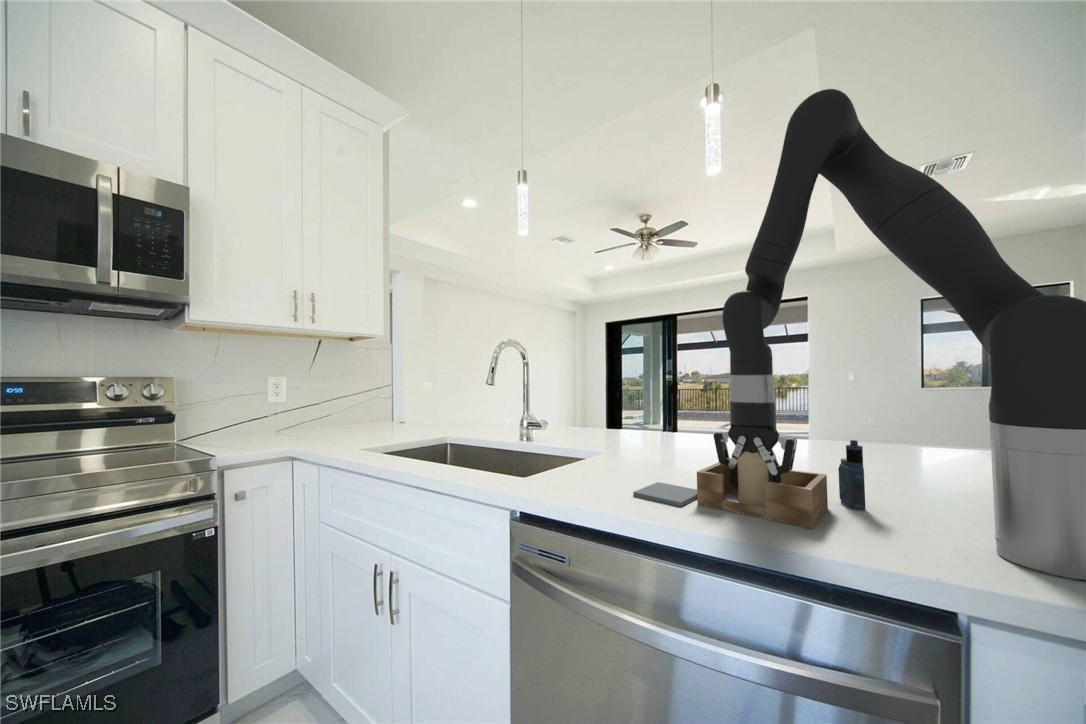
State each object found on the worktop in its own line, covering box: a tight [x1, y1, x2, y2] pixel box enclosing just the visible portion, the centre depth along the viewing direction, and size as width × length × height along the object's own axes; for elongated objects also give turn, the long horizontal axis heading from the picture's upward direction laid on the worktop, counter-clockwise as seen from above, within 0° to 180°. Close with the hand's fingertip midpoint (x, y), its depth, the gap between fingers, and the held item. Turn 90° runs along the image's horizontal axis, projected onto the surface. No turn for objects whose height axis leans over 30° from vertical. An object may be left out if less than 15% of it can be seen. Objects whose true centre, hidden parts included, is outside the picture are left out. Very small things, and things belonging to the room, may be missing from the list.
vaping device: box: [838, 439, 867, 511], centre depth 72 cm, size 3×5×12 cm, turn 166°
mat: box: [632, 481, 697, 507], centre depth 80 cm, size 10×10×1 cm
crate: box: [696, 461, 829, 530], centre depth 73 cm, size 18×13×6 cm
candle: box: [737, 451, 771, 508], centre depth 73 cm, size 6×6×10 cm
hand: (754, 491), depth 73 cm, fingers closed on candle, 5 cm apart
